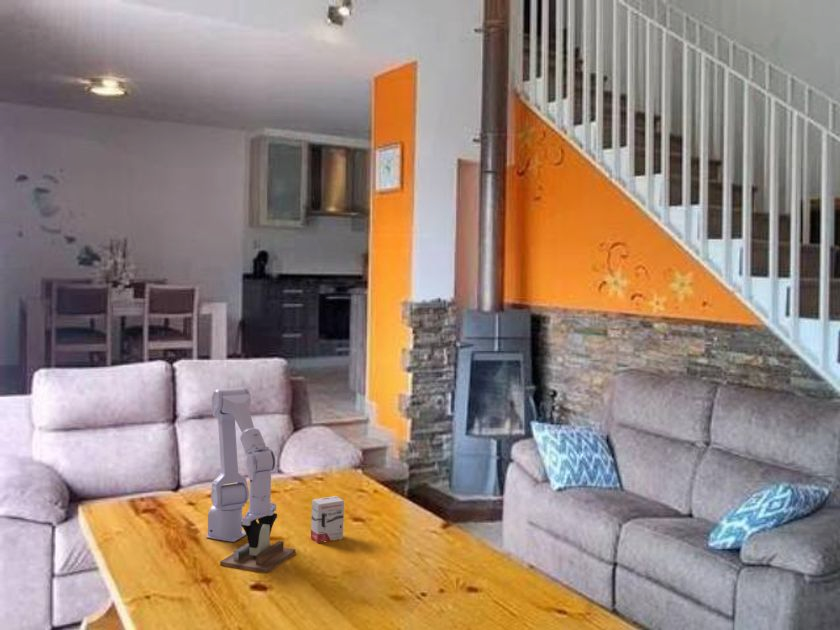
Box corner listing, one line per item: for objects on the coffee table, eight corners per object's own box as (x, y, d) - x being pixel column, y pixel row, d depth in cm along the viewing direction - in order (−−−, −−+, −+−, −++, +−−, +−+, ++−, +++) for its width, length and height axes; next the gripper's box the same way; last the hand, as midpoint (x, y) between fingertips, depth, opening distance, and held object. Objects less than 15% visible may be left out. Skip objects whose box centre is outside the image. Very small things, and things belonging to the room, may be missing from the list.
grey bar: (233, 560, 209) (233, 551, 209) (256, 546, 220) (257, 537, 220) (238, 561, 208) (238, 552, 208) (261, 546, 220) (261, 538, 219)
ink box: (317, 543, 226) (318, 503, 226) (310, 538, 230) (311, 499, 230) (343, 538, 231) (344, 499, 230) (336, 533, 235) (337, 495, 234)
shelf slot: (220, 565, 208) (220, 552, 208) (251, 545, 223) (252, 533, 223) (266, 573, 203) (266, 560, 203) (295, 552, 218) (295, 540, 218)
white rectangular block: (249, 554, 211) (249, 529, 210) (259, 548, 216) (260, 523, 216) (259, 556, 210) (259, 530, 209) (269, 549, 215) (269, 524, 215)
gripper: (259, 503, 204) (258, 554, 205) (286, 489, 218) (285, 537, 218) (235, 500, 206) (234, 550, 207) (263, 486, 220) (262, 533, 221)
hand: (259, 543), depth 213 cm, fingers closed on white rectangular block, 5 cm apart
